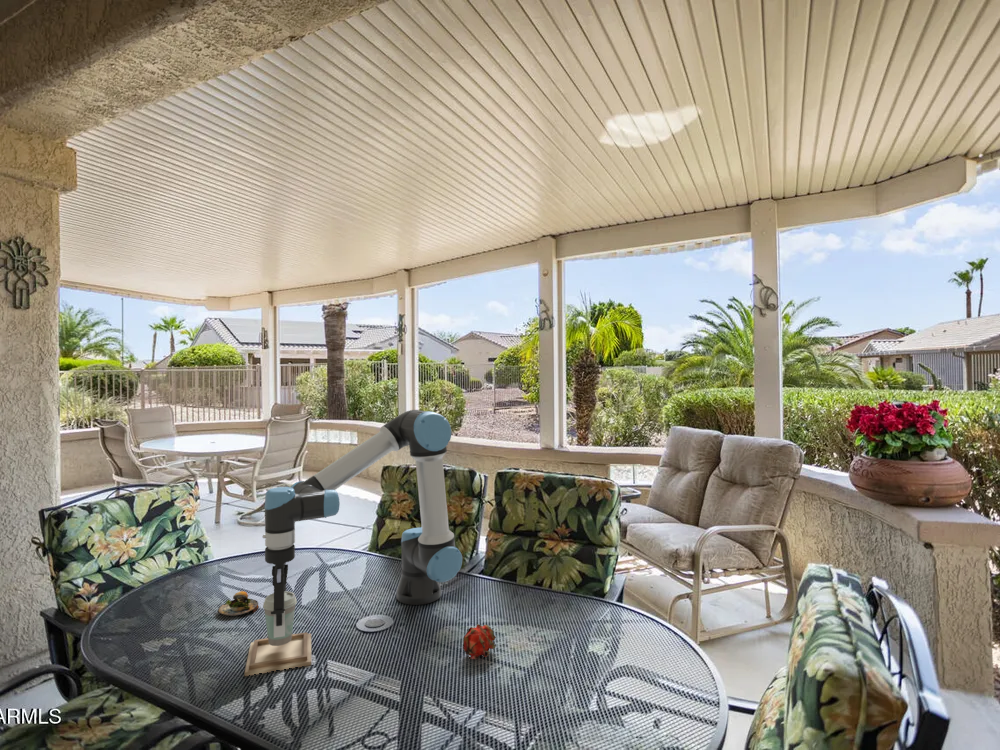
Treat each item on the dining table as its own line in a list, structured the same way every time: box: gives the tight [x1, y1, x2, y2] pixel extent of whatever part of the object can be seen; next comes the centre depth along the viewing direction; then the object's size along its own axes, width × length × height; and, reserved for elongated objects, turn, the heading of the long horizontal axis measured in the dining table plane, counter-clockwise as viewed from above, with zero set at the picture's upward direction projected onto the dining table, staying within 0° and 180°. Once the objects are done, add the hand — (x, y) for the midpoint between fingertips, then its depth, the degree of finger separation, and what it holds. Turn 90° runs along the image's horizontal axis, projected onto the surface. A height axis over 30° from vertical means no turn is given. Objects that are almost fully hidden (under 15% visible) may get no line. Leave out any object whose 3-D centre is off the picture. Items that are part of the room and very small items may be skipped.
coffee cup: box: [262, 590, 298, 646], centre depth 148 cm, size 8×9×12 cm
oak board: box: [244, 632, 312, 677], centre depth 148 cm, size 16×16×2 cm
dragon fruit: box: [462, 623, 497, 661], centre depth 148 cm, size 8×8×12 cm
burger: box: [217, 587, 260, 617], centre depth 175 cm, size 12×12×8 cm
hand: (280, 628), depth 148 cm, fingers closed on coffee cup, 9 cm apart
